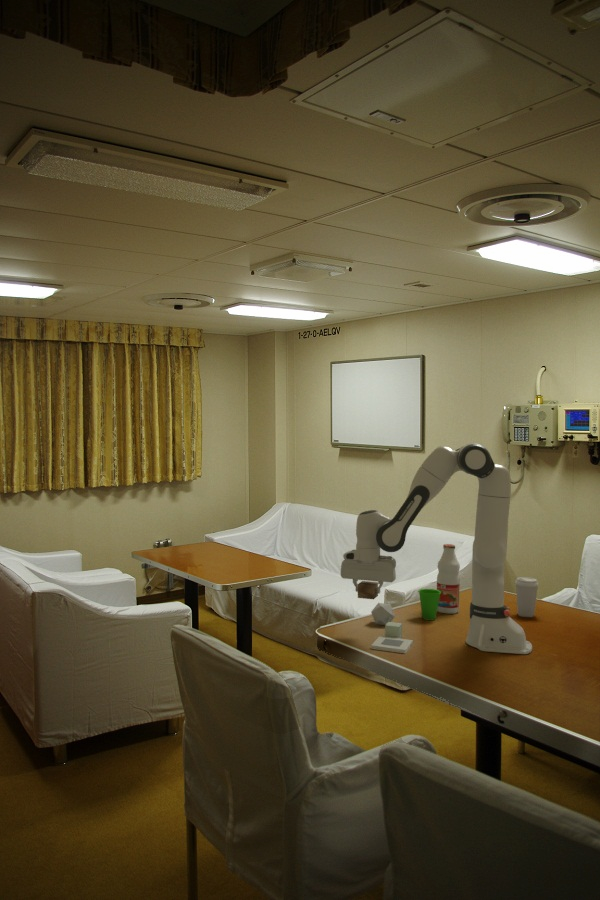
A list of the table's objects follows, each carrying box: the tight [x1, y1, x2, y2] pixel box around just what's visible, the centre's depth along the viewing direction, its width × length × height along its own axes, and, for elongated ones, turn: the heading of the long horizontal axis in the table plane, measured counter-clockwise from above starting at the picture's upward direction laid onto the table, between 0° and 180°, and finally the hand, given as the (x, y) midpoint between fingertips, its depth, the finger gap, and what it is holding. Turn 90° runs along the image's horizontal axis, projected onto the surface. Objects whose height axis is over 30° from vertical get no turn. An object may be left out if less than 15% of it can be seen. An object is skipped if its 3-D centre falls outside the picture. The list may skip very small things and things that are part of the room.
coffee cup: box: [514, 576, 540, 618], centre depth 280 cm, size 10×10×15 cm
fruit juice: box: [436, 543, 461, 615], centre depth 283 cm, size 9×9×28 cm
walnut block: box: [357, 580, 379, 600], centre depth 247 cm, size 6×6×5 cm
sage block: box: [384, 621, 403, 639], centre depth 244 cm, size 5×5×5 cm
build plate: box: [370, 635, 414, 654], centre depth 234 cm, size 12×12×1 cm
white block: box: [370, 602, 396, 626], centre depth 262 cm, size 8×9×10 cm
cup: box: [418, 588, 441, 621], centre depth 271 cm, size 9×9×11 cm
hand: (367, 592), depth 247 cm, fingers closed on walnut block, 6 cm apart
